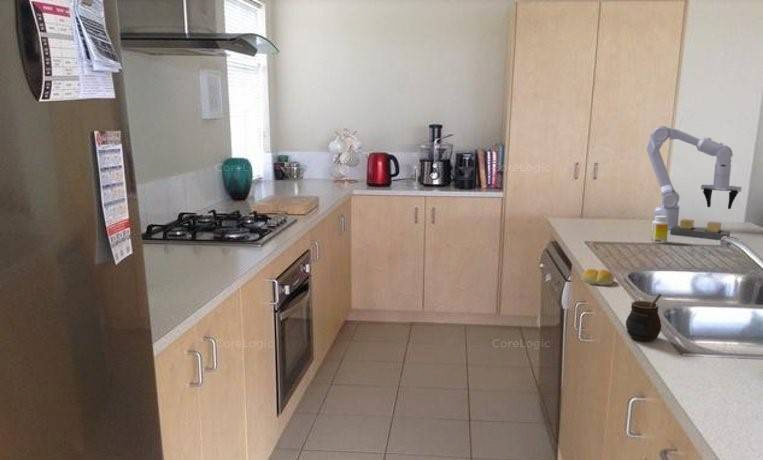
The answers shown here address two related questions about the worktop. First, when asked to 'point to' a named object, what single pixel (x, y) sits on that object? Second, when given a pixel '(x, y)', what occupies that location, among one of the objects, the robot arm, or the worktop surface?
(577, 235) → the worktop surface
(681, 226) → the beige wooden block
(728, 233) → the rail
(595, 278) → the bread roll
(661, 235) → the supplement bottle
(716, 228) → the tan wooden block
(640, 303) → the mate gourd
